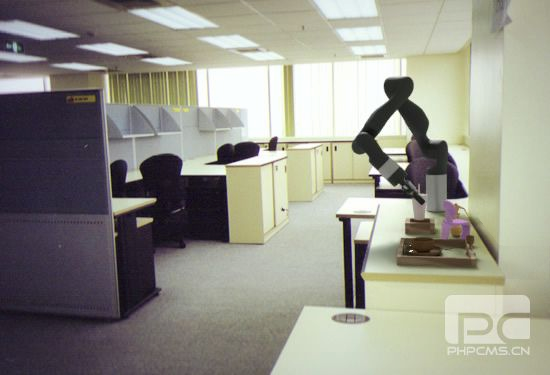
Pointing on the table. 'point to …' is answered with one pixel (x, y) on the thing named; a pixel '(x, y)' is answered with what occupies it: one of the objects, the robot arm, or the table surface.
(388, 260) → the table surface
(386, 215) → the table surface
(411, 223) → the holder
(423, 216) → the smoothie
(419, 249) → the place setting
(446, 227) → the toy chair
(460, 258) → the tray rim
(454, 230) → the figurine
